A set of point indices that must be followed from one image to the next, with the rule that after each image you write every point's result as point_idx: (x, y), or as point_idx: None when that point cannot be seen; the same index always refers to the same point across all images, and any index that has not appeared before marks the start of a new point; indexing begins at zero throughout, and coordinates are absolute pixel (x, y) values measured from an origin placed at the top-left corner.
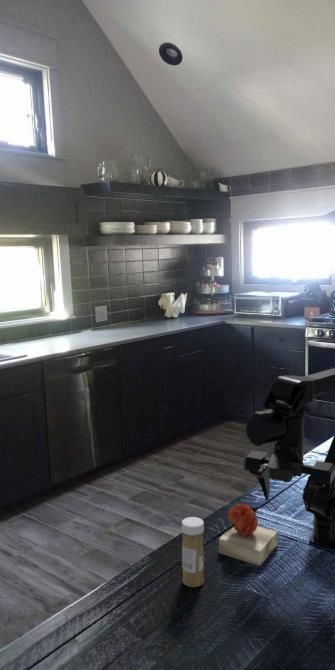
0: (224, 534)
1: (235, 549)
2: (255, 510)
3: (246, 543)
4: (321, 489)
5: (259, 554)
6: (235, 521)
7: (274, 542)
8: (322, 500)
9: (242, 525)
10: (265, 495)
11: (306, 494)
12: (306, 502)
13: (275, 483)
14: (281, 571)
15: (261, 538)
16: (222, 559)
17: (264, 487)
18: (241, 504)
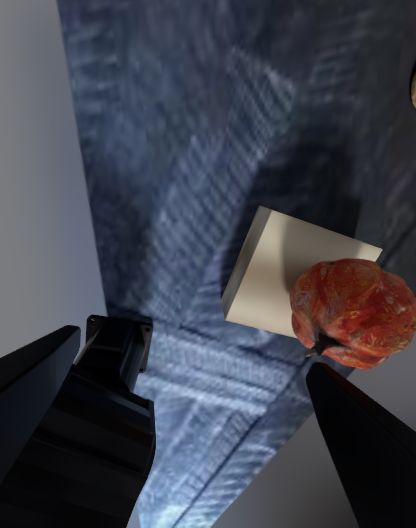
0: None
1: (329, 230)
2: (320, 340)
3: (309, 243)
4: (38, 503)
5: (270, 209)
6: (385, 273)
7: (229, 292)
8: (52, 433)
9: (355, 264)
10: (346, 384)
11: (133, 458)
12: (138, 420)
13: (231, 486)
14: (206, 193)
15: (267, 278)
16: (347, 212)
17: (409, 443)
18: (389, 348)
